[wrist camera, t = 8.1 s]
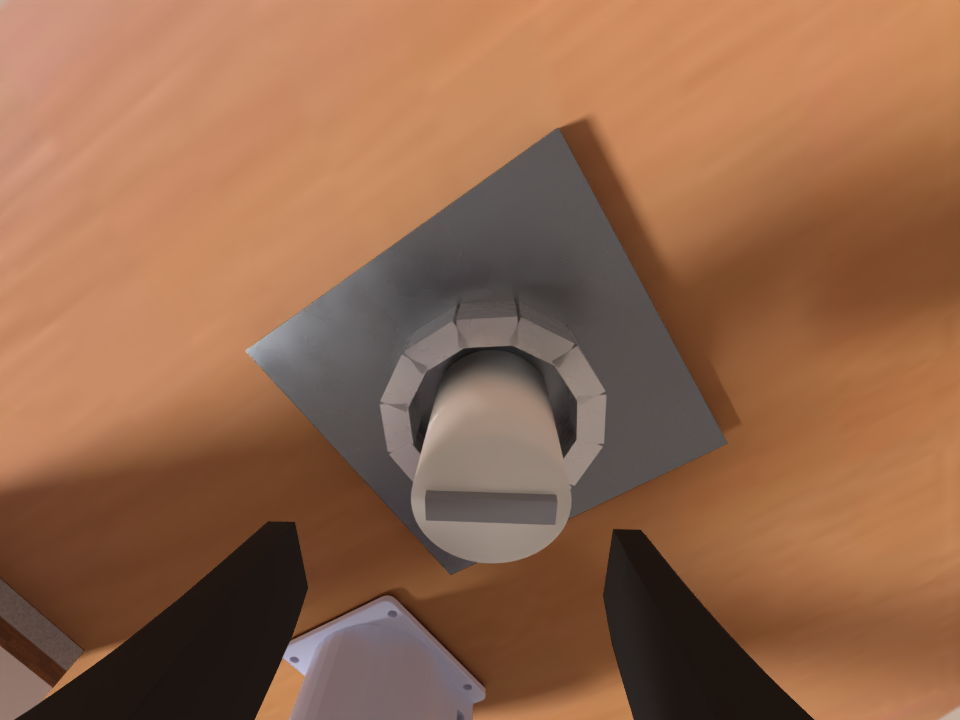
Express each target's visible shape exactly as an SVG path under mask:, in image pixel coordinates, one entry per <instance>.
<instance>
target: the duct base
mask: <svg viewBox="0 0 960 720" xmlns="http://www.w3.org/2000/svg"><path fill="white" fill-rule="evenodd" d="M484 350H501V351H506V352H510V353H513V354H516V355H518V356H520V357H522V358H524V359H525V360H527V361H528V362H529V363H531V364H532V365H533V366H534V367H535V368H536V369H537V370H538V372H539V373H540V374H541V376H542V378H543V380H544V382H545V384H546V387H547V391H548V395H549V399H550V404H551V408H552V412H553V417H554V421H555V425H556V430H557V434H558V438H559V442H560V447H561V451H562V455H563V460H564V464H565V468H566V473H567V477H568V481H569V486H570V490H571V498H572V500H571V510H570V515H569V518H568V519H570V518H572V517H574V516H576V515H578V514H580V513H583V512H585V511H587V510H589V509H591V508H593V507H595V506H597V505H599V504H601V503H604V502H606V501H608V500H610V499H612V498H614V497H616V496H618V495H620V494H622V493H625V492H627V491H629V490H631V489H633V488H635V487H637V486H639V485H641V484H644V483H646V482H648V481H650V480H652V479H654V478H656V477H658V476H660V475H662V474H665V473H667V472H669V471H671V470H673V469H675V468H677V467H679V466H681V465H683V464H686V463H688V462H690V461H692V460H694V459H696V458H698V457H700V456H702V455H705V454H707V453H709V452H711V451H713V450H715V449H717V448H719V447H721V446H723V445H726V444H728V443H727V441H726V439H725V437H724V436H723V434H722V432H721V430H720V428H719V426H718V424H717V422H716V421H715V419H714V417H713V415H712V413H711V411H710V409H709V408H708V406H707V404H706V402H705V400H704V398H703V396H702V395H701V393H700V391H699V389H698V387H697V385H696V383H695V381H694V380H693V378H692V376H691V374H690V372H689V370H688V368H687V367H686V365H685V363H684V361H683V359H682V357H681V355H680V354H679V352H678V350H677V348H676V346H675V344H674V342H673V340H672V339H671V337H670V335H669V333H668V331H667V329H666V327H665V326H664V324H663V322H662V320H661V318H660V316H659V314H658V312H657V311H656V309H655V307H654V305H653V303H652V301H651V299H650V298H649V296H648V294H647V292H646V290H645V288H644V286H643V285H642V283H641V281H640V279H639V277H638V275H637V273H636V271H635V270H634V268H633V266H632V264H631V262H630V260H629V258H628V257H627V255H626V253H625V251H624V249H623V247H622V245H621V244H620V242H619V240H618V238H617V236H616V234H615V232H614V230H613V229H612V227H611V225H610V223H609V221H608V219H607V217H606V216H605V214H604V212H603V210H602V208H601V206H600V204H599V203H598V201H597V199H596V197H595V195H594V193H593V191H592V189H591V188H590V186H589V184H588V182H587V180H586V178H585V176H584V175H583V173H582V171H581V169H580V167H579V165H578V163H577V161H576V160H575V158H574V156H573V154H572V152H571V150H570V148H569V147H568V145H567V143H566V141H565V139H564V137H563V135H562V134H561V132H560V130H559V128H556V129H555V130H553V131H552V132H551V133H549V134H548V135H546V136H545V137H544V138H542V139H541V140H539V141H538V142H537V143H535V144H534V145H532V146H531V147H530V148H528V149H527V150H525V151H524V152H523V153H521V154H520V155H518V156H517V157H516V158H514V159H513V160H511V161H510V162H509V163H507V164H506V165H504V166H503V167H502V168H500V169H499V170H497V171H496V172H495V173H493V174H492V175H490V176H489V177H488V178H486V179H485V180H483V181H482V182H481V183H479V184H478V185H476V186H475V187H474V188H472V189H471V190H469V191H468V192H467V193H465V194H464V195H462V196H461V197H460V198H458V199H457V200H455V201H454V202H453V203H451V204H450V205H448V206H447V207H446V208H444V209H443V210H441V211H440V212H439V213H437V214H436V215H434V216H433V217H432V218H430V219H429V220H427V221H426V222H425V223H423V224H422V225H420V226H419V227H418V228H416V229H415V230H413V231H412V232H411V233H409V234H408V235H406V236H405V237H404V238H402V239H401V240H399V241H398V242H397V243H395V244H394V245H392V246H391V247H390V248H388V249H387V250H385V251H384V252H383V253H381V254H380V255H378V256H377V257H376V258H374V259H373V260H371V261H370V262H369V263H367V264H366V265H364V266H363V267H362V268H360V269H359V270H357V271H356V272H355V273H353V274H352V275H350V276H349V277H348V278H346V279H345V280H343V281H342V282H341V283H339V284H338V285H336V286H335V287H334V288H332V289H331V290H329V291H328V292H327V293H325V294H324V295H322V296H321V297H320V298H318V299H317V300H315V301H314V302H313V303H311V304H310V305H308V306H307V307H306V308H304V309H303V310H301V311H300V312H299V313H297V314H296V315H294V316H293V317H292V318H290V319H289V320H287V321H286V322H285V323H283V324H282V325H280V326H279V327H278V328H276V329H275V330H273V331H272V332H271V333H269V334H268V335H266V336H265V337H264V338H262V339H261V340H259V341H258V342H257V343H255V344H254V345H253V346H251V347H250V348H248V349H247V350H246V352H247V353H248V354H249V355H250V356H251V357H252V359H253V360H254V361H255V362H256V363H257V364H258V365H259V366H260V367H261V368H262V369H263V371H264V372H265V373H266V374H267V375H268V376H269V377H270V378H271V379H272V380H273V381H274V383H275V384H276V385H277V386H278V387H279V388H280V389H281V390H282V391H283V392H284V393H285V395H286V396H287V397H288V398H289V399H290V400H291V401H292V402H293V403H294V404H295V405H296V407H297V408H298V409H299V410H300V411H301V412H302V413H303V414H304V415H305V416H306V417H307V419H308V420H309V421H310V422H311V423H312V424H313V425H314V426H315V427H316V428H317V429H318V431H319V432H320V433H321V434H322V435H323V436H324V437H325V438H326V439H327V440H328V442H329V443H330V444H331V445H332V446H333V447H334V448H335V449H336V450H337V451H338V452H339V454H340V455H341V456H342V457H343V458H344V459H345V460H346V461H347V462H348V463H349V464H350V466H351V467H352V468H353V469H354V470H355V471H356V472H357V473H358V474H359V475H360V476H361V478H362V479H363V480H364V481H365V482H366V483H367V484H368V485H369V486H370V487H371V488H372V490H373V491H374V492H375V493H376V494H377V495H378V496H379V497H380V498H381V499H382V500H383V502H384V503H385V504H386V505H387V506H388V507H389V508H390V509H391V510H392V511H393V512H394V514H395V515H396V516H397V517H398V518H399V519H400V520H401V521H402V522H403V523H404V524H405V526H406V527H407V528H408V529H409V530H410V531H411V532H412V533H413V534H414V535H415V536H416V538H417V539H418V540H419V541H420V542H421V543H422V544H423V545H424V546H425V547H426V549H427V550H428V551H429V552H430V553H431V554H432V555H433V556H434V557H435V558H436V559H437V561H438V562H439V563H440V564H441V565H442V566H443V567H444V568H445V569H446V570H447V571H448V573H449V574H450V575H452V574H454V573H456V572H458V571H461V570H463V569H465V568H467V567H469V566H471V565H473V564H475V563H477V562H474V561H469V560H465V559H462V558H459V557H456V556H454V555H452V554H450V553H448V552H446V551H444V550H442V549H441V548H439V547H438V546H437V545H435V544H434V543H433V542H432V541H431V540H430V539H428V537H427V536H426V535H425V534H424V533H423V532H422V530H421V529H420V527H419V526H418V524H417V522H416V520H415V517H414V514H413V511H412V505H411V491H412V486H413V482H414V478H415V474H416V470H417V466H418V462H419V459H420V455H421V451H422V447H423V443H424V439H425V436H426V432H427V428H428V424H429V420H430V416H431V413H432V409H433V405H434V401H435V397H436V394H437V390H438V386H439V383H440V381H441V379H442V377H443V375H444V374H445V372H446V371H447V370H448V369H449V368H450V367H451V366H452V364H454V363H455V362H456V361H458V360H459V359H461V358H463V357H464V356H466V355H469V354H471V353H475V352H478V351H484Z"/></svg>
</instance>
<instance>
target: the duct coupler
mask: <svg viewBox="0 0 960 720" xmlns="http://www.w3.org/2000/svg"><path fill="white" fill-rule="evenodd" d="M571 500H572V498H571V490H570V486H569V481H568V477H567V473H566V468H565V464H564V460H563V455H562V451H561V447H560V442H559V438H558V434H557V430H556V425H555V421H554V417H553V412H552V408H551V404H550V399H549V395H548V391H547V387H546V384H545V382H544V380H543V378H542V376H541V374H540V373H539V372H538V370H537V369H536V368H535V367H534V366H533V365H532V364H531V363H529V362H528V361H527V360H525V359H524V358H522V357H520V356H518V355H516V354H513V353H510V352H506V351H501V350H484V351H478V352H475V353H471V354H469V355H466V356H464V357H463V358H461V359H459V360H458V361H456V362H455V363H454V364H452V366H451V367H450V368H449V369H448V370H447V371H446V372H445V374H444V375H443V377H442V379H441V381H440V383H439V386H438V390H437V394H436V397H435V401H434V405H433V409H432V413H431V416H430V420H429V424H428V428H427V432H426V436H425V439H424V443H423V447H422V451H421V455H420V459H419V462H418V466H417V470H416V474H415V478H414V482H413V486H412V491H411V505H412V511H413V514H414V517H415V520H416V522H417V524H418V526H419V527H420V529H421V530H422V532H423V533H424V534H425V535H426V536H427V537H428V539H430V540H431V541H432V542H433V543H434V544H435V545H437V546H438V547H439V548H441V549H442V550H444V551H446V552H448V553H450V554H452V555H454V556H456V557H459V558H462V559H465V560H469V561H474V562H479V563H506V562H512V561H516V560H520V559H523V558H526V557H529V556H531V555H533V554H535V553H537V552H539V551H541V550H542V549H544V548H545V547H547V546H548V545H549V544H550V543H552V542H553V541H554V540H555V539H556V538H557V537H558V535H559V534H560V533H561V531H562V530H563V528H564V526H565V525H566V523H567V520H568V518H569V515H570V510H571Z"/></svg>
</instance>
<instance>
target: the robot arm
mask: <svg viewBox="0 0 960 720" xmlns="http://www.w3.org/2000/svg"><path fill="white" fill-rule="evenodd" d="M307 589H308V585H307V580H306V575H305V570H304V565H303V560H302V555H301V550H300V545H299V540H298V535H297V530H296V525H295V522H271V521H269V522H267V523H266V524H265V525H264V526H263V527H261V528H260V529H259V530H258V531H257V532H256V533H254V534H253V535H252V536H251V537H250V538H249V539H248V540H246V541H245V542H244V543H243V544H242V545H241V546H240V547H238V548H237V549H236V550H235V551H234V552H233V553H232V554H231V555H229V556H228V557H227V558H226V559H225V560H224V561H223V562H221V563H220V564H219V565H218V566H217V567H216V568H214V569H213V570H212V571H211V572H210V573H209V574H207V575H206V576H205V577H204V578H203V579H202V580H200V581H199V582H198V583H197V584H196V585H195V586H193V587H192V588H191V589H190V590H189V591H188V592H186V593H185V594H184V595H183V596H182V597H181V598H179V599H178V600H177V601H176V602H174V603H173V604H172V605H171V606H169V607H168V608H167V609H166V610H164V611H163V612H162V613H161V614H159V615H158V616H157V617H156V618H154V619H153V620H152V621H151V622H149V623H148V624H147V625H146V626H144V627H143V628H142V629H141V630H139V631H138V632H137V633H136V634H134V635H133V636H132V637H131V638H129V639H128V640H127V641H126V642H124V643H123V644H122V645H120V646H119V647H118V648H116V649H115V650H114V651H112V652H111V653H110V654H108V655H107V656H106V657H104V658H103V659H102V660H100V661H99V662H97V663H96V664H95V665H93V666H92V667H91V668H89V669H88V670H86V671H85V672H84V673H82V674H81V675H79V676H78V677H76V678H75V679H74V680H72V681H71V682H69V683H68V684H67V685H65V686H64V687H62V688H61V689H60V690H58V691H57V692H55V693H54V694H52V695H51V696H49V697H48V698H46V699H45V700H43V701H42V702H40V703H39V704H37V705H36V706H34V707H33V708H31V709H30V710H28V711H27V712H25V713H24V714H22V715H20V716H19V717H17V718H16V719H14V720H255V718H256V715H257V713H258V711H259V709H260V707H261V704H262V702H263V700H264V698H265V696H266V693H267V691H268V689H269V687H270V685H271V682H272V680H273V678H274V676H275V674H276V671H277V669H278V667H279V665H280V662H281V660H282V658H284V659H285V660H286V661H287V662H289V663H290V664H291V665H292V666H293V667H295V668H296V669H297V670H298V671H299V672H301V673H302V674H303V675H304V676H305V677H304V680H303V683H302V685H301V688H300V691H299V694H298V696H297V699H296V702H295V704H294V707H293V710H292V712H291V715H290V718H289V720H473V704H475V703H477V702H480V701H482V700H484V699H485V697H486V689H485V688H484V687H483V686H482V685H481V684H480V683H479V682H478V681H477V680H476V679H475V678H474V677H473V676H472V675H471V674H470V673H469V672H468V671H467V670H466V669H465V668H464V667H463V666H462V665H461V664H460V663H459V662H458V661H457V660H456V659H455V658H454V657H453V656H452V655H451V654H450V653H449V652H448V651H447V650H446V649H445V648H444V647H443V646H442V645H441V644H440V643H439V642H438V641H437V640H436V639H435V638H434V637H433V636H432V635H431V634H430V633H429V632H428V631H427V630H426V629H425V628H424V627H423V626H422V625H421V624H420V623H419V622H418V621H417V620H416V619H415V618H414V617H413V616H412V615H411V614H410V613H409V612H408V611H407V610H406V609H405V608H404V607H403V606H402V605H401V604H400V603H399V602H398V601H397V600H396V599H395V598H394V597H392V596H387V595H386V596H382V597H380V598H378V599H376V600H374V601H372V602H370V603H368V604H366V605H364V606H362V607H360V608H357V609H355V610H353V611H351V612H349V613H347V614H345V615H343V616H341V617H339V618H337V619H335V620H333V621H331V622H328V623H326V624H324V625H322V626H320V627H318V628H316V629H314V630H312V631H310V632H308V633H306V634H304V635H302V636H299V637H297V638H295V639H293V640H291V638H292V635H293V632H294V629H295V626H296V624H297V621H298V618H299V615H300V612H301V608H302V605H303V602H304V599H305V596H306V592H307ZM603 597H604V603H605V609H606V615H607V620H608V626H609V631H610V636H611V641H612V646H613V649H614V653H615V657H616V660H617V664H618V667H619V670H620V674H621V677H622V681H623V684H624V688H625V691H626V695H627V698H628V701H629V705H630V708H631V712H632V715H633V718H634V720H814V719H813V718H812V717H811V716H810V715H809V714H808V713H807V712H806V711H805V710H803V709H802V708H801V707H800V706H799V705H798V704H797V703H796V702H795V701H794V700H793V699H792V698H791V697H790V696H789V695H788V694H787V693H786V692H785V691H783V690H782V689H781V688H780V687H779V686H778V685H777V684H776V683H775V682H774V681H773V680H772V679H771V678H770V677H769V676H768V675H767V674H766V673H765V672H764V671H763V670H762V669H761V668H760V667H759V665H758V664H757V663H756V662H755V661H754V660H753V659H752V658H751V657H750V656H749V655H748V654H747V653H746V652H745V651H744V650H743V649H742V648H741V647H740V646H739V644H738V643H737V642H736V641H735V640H734V639H733V638H732V637H731V636H730V635H729V634H728V633H727V632H726V630H725V629H724V628H723V627H722V626H721V625H720V624H719V623H718V622H717V620H716V619H715V618H714V617H713V616H712V615H711V614H710V612H709V611H708V610H707V609H706V608H705V607H704V606H703V604H702V603H701V602H700V601H699V600H698V599H697V598H696V596H695V595H694V594H693V593H692V592H691V591H690V589H689V588H688V587H687V586H686V585H685V583H684V582H683V581H682V580H681V579H680V577H679V576H678V575H677V574H676V572H675V571H674V570H673V569H672V568H671V566H670V565H669V564H668V563H667V561H666V560H665V559H664V558H663V556H662V555H661V554H660V553H659V551H658V550H657V549H656V548H655V546H654V545H653V544H652V543H651V541H650V540H649V539H648V538H647V536H646V535H645V534H644V533H643V532H642V531H641V530H622V529H613V534H612V540H611V547H610V553H609V560H608V567H607V573H606V580H605V587H604V593H603ZM290 640H291V641H290Z"/></svg>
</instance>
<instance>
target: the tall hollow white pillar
mask: <svg viewBox="0 0 960 720" xmlns="http://www.w3.org/2000/svg"><path fill="white" fill-rule="evenodd" d="M83 652H84V650H82V649H81V648H80V647H79V646H78V645H77V644H75V643H74V642H73V641H72V640H71V639H70V638H69V637H67V636H66V635H65V634H64V633H63V632H62V631H60V630H59V629H58V628H57V627H56V626H55V625H53V624H52V623H51V622H50V621H49V620H48V619H47V618H45V617H44V616H43V615H42V614H41V613H40V612H38V611H37V610H36V609H35V608H34V607H33V606H32V605H30V604H29V603H28V602H27V601H26V600H25V599H23V598H22V597H21V596H20V595H19V594H18V593H16V592H15V591H14V590H13V589H12V588H11V587H10V586H8V585H7V584H6V583H5V582H4V581H3V580H1V579H0V720H14V719H16V718H17V717H19V716H20V715H22V714H24V713H25V712H27V711H28V710H30V709H31V708H33V707H34V706H36V705H37V704H39V703H40V702H41V701H42V700H43V699H44V698H45V696H46V695H47V694H48V693H49V692H50V691H51V689H52V688H53V687H54V686H55V685H56V684H57V682H58V681H59V680H60V679H61V678H62V677H63V675H64V674H65V673H66V672H67V671H68V670H69V668H70V667H71V666H72V665H73V664H74V662H75V661H76V660H77V659H78V658H79V657H80V655H81V654H82V653H83Z"/></svg>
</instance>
